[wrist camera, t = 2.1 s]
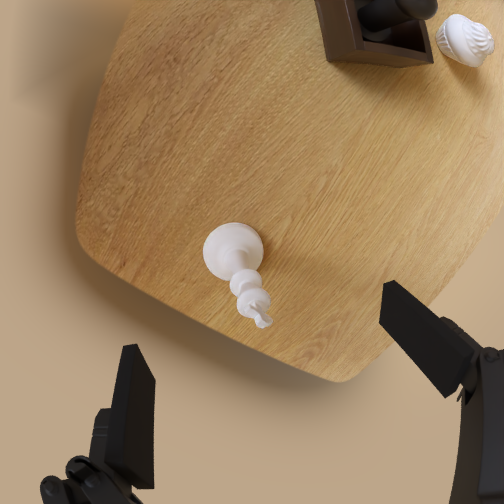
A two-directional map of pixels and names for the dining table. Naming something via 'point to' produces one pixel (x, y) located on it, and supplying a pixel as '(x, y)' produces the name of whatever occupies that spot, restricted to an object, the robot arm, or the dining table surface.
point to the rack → (358, 51)
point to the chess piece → (239, 268)
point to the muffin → (464, 40)
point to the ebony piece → (390, 15)
